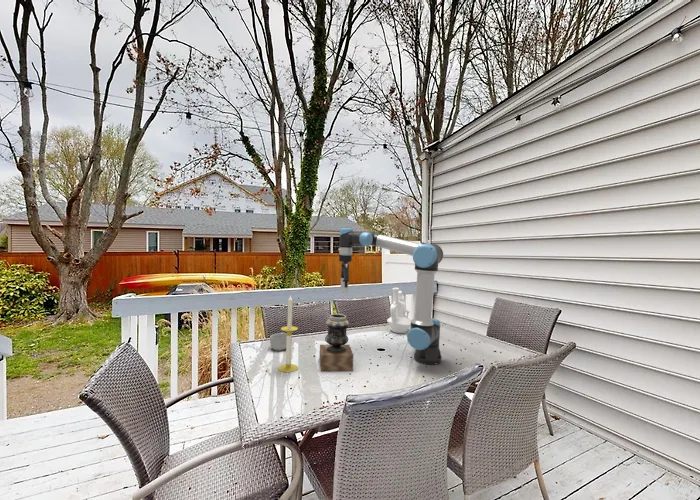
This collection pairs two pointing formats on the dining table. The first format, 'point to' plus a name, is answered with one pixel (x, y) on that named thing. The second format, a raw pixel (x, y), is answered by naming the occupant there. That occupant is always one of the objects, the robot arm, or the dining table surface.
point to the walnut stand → (336, 359)
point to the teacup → (278, 341)
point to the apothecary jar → (337, 333)
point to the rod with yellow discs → (289, 341)
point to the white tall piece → (398, 313)
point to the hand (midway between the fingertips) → (344, 290)
